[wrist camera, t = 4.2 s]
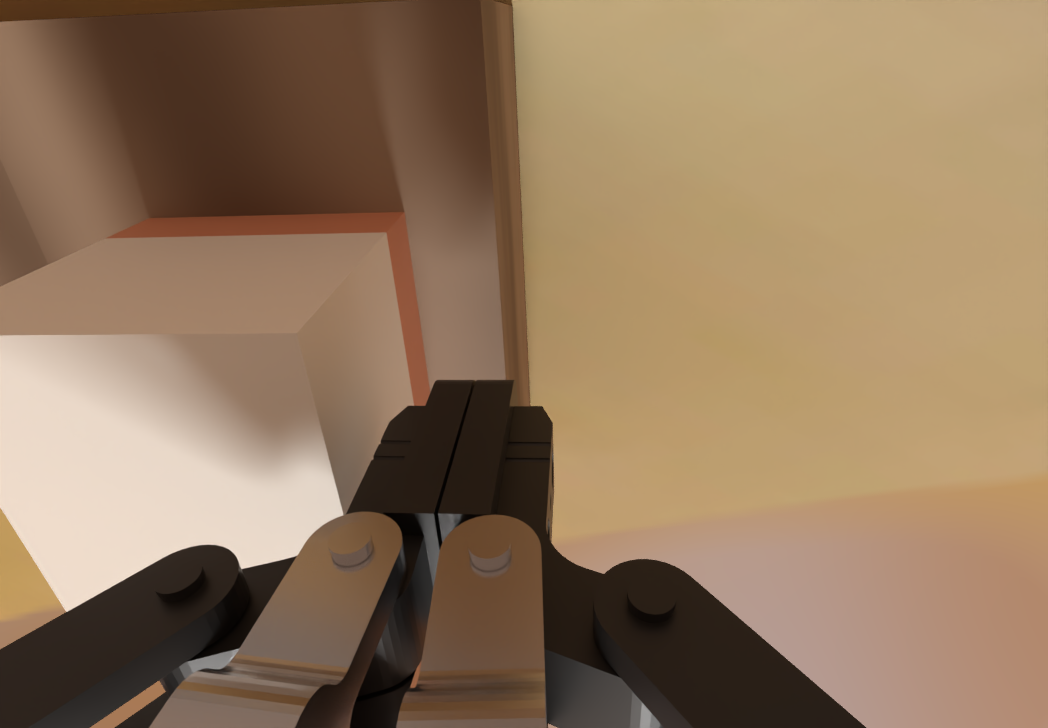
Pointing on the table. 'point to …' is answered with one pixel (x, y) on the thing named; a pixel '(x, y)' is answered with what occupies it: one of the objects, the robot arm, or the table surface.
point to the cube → (201, 388)
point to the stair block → (283, 143)
